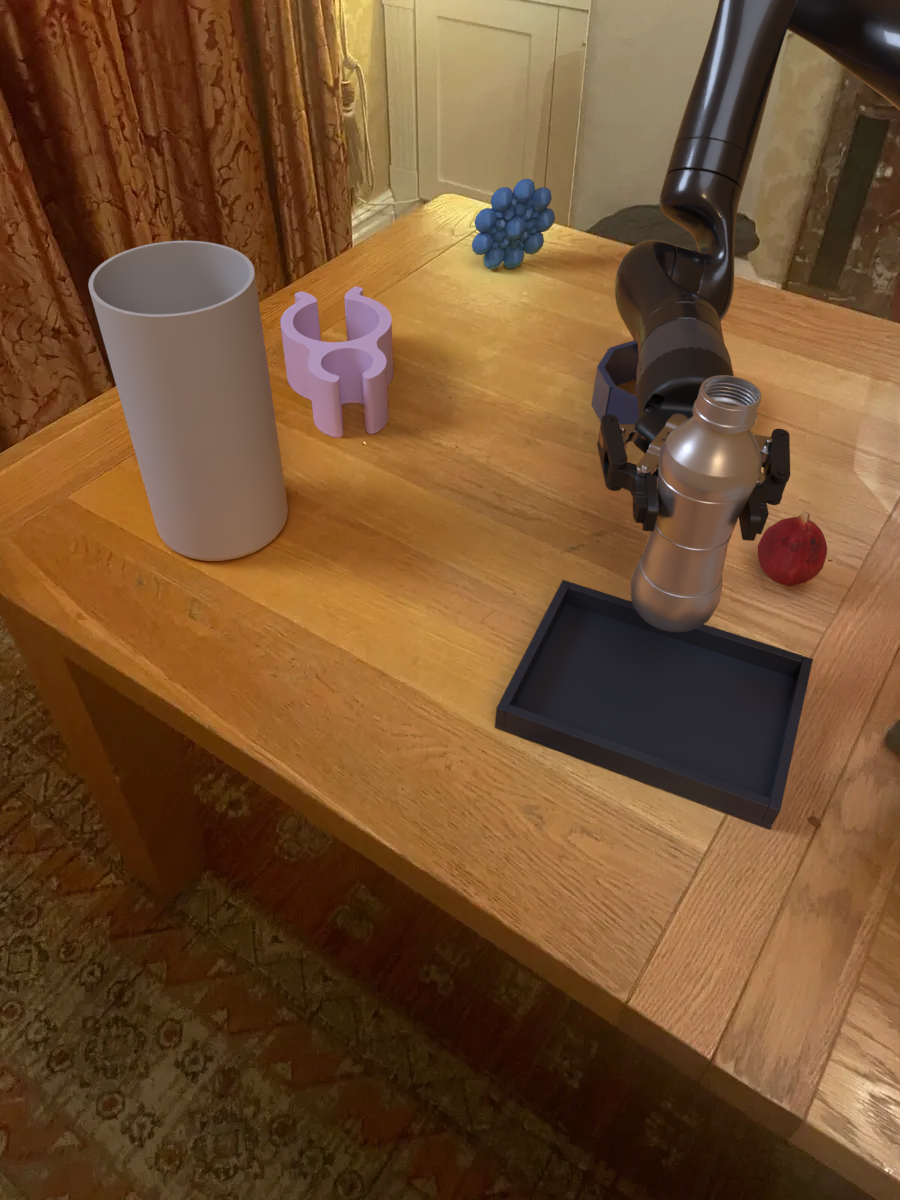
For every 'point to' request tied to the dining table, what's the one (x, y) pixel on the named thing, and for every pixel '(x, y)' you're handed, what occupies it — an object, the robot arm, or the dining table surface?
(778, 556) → the onion
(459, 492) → the dining table surface
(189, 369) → the cylinder vase
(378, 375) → the clip
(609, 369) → the blue faceted ring
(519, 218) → the grapes
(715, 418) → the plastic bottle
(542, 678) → the tray
